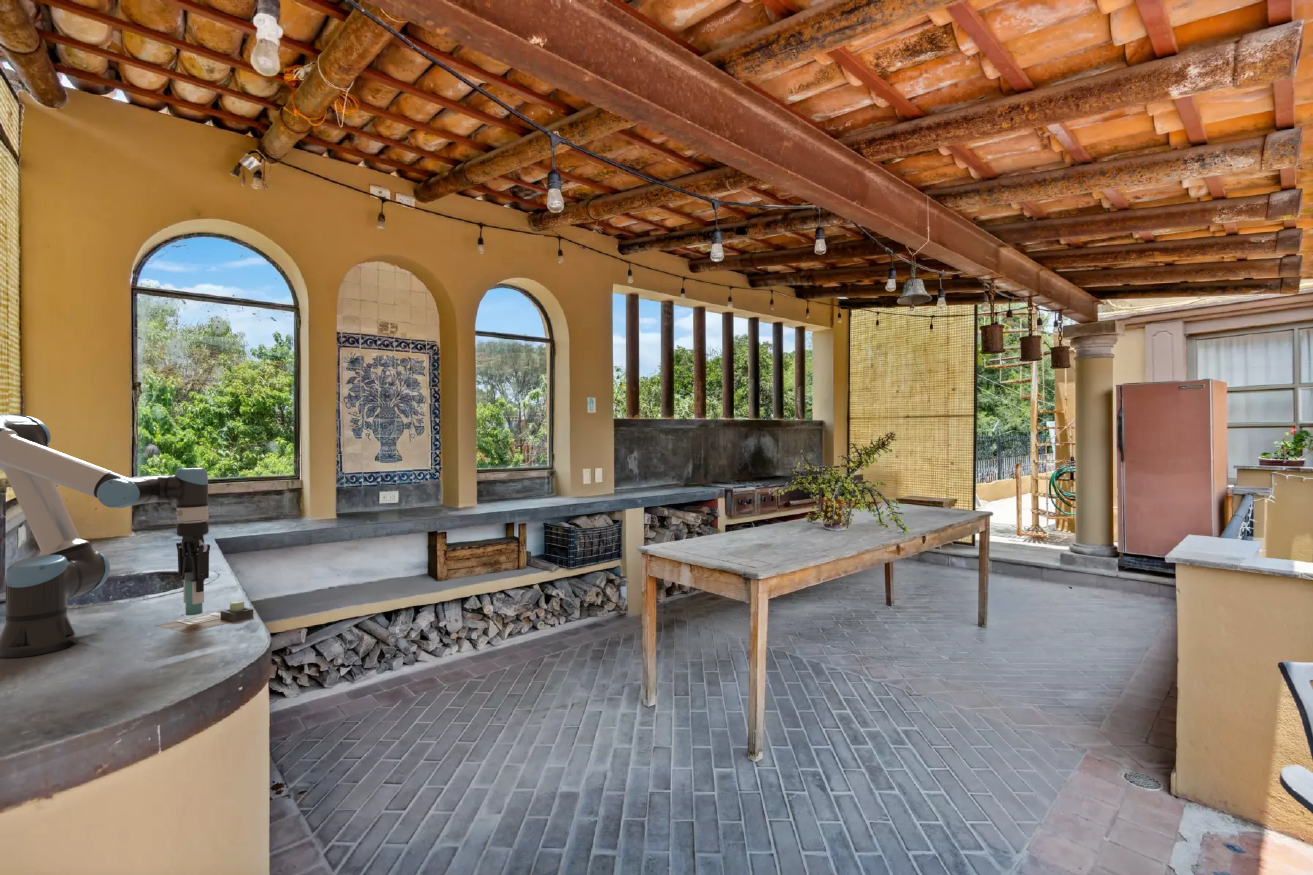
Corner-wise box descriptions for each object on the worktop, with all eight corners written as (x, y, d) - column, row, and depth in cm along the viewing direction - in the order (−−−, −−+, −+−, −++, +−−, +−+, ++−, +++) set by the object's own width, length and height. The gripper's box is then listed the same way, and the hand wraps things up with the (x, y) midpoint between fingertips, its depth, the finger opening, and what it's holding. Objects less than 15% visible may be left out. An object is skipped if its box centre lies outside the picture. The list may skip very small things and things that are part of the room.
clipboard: (156, 629, 186) (156, 616, 186) (222, 614, 202) (222, 602, 202) (187, 637, 179) (187, 624, 179) (253, 620, 195) (253, 608, 195)
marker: (182, 614, 187) (181, 572, 187) (198, 610, 191) (197, 570, 191) (190, 616, 185) (189, 574, 185) (206, 612, 189) (205, 571, 189)
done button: (227, 612, 193) (227, 603, 193) (239, 609, 196) (239, 600, 196) (234, 614, 191) (234, 604, 191) (246, 611, 194) (246, 601, 194)
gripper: (162, 521, 189) (163, 602, 189) (194, 524, 181) (195, 608, 181) (191, 518, 195) (192, 596, 195) (223, 521, 187) (224, 602, 187)
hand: (193, 602), depth 188 cm, fingers closed on marker, 4 cm apart
